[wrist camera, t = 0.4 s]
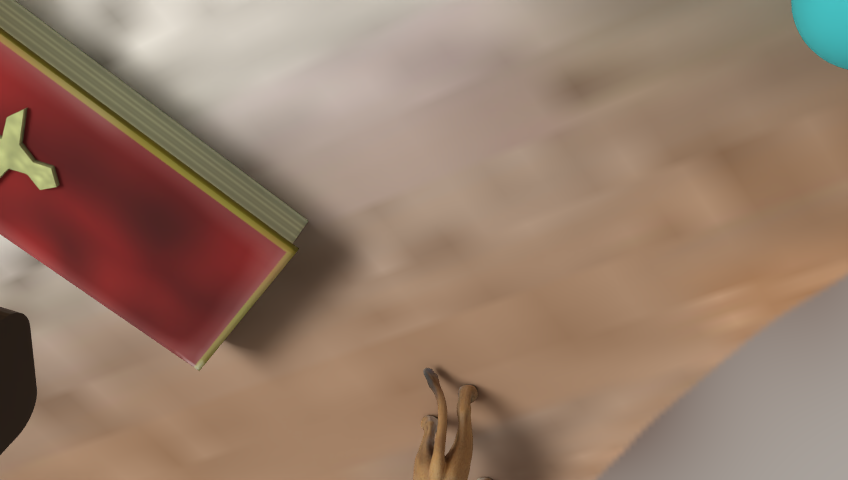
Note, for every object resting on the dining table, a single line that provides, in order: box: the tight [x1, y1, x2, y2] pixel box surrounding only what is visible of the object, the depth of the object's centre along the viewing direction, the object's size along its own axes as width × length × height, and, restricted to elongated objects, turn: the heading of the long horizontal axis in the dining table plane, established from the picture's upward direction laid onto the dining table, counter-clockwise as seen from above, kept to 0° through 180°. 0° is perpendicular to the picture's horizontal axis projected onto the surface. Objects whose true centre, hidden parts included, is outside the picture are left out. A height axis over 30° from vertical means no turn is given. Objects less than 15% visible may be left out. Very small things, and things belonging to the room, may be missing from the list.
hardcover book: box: [0, 0, 308, 371], centre depth 42 cm, size 12×21×4 cm, turn 53°
